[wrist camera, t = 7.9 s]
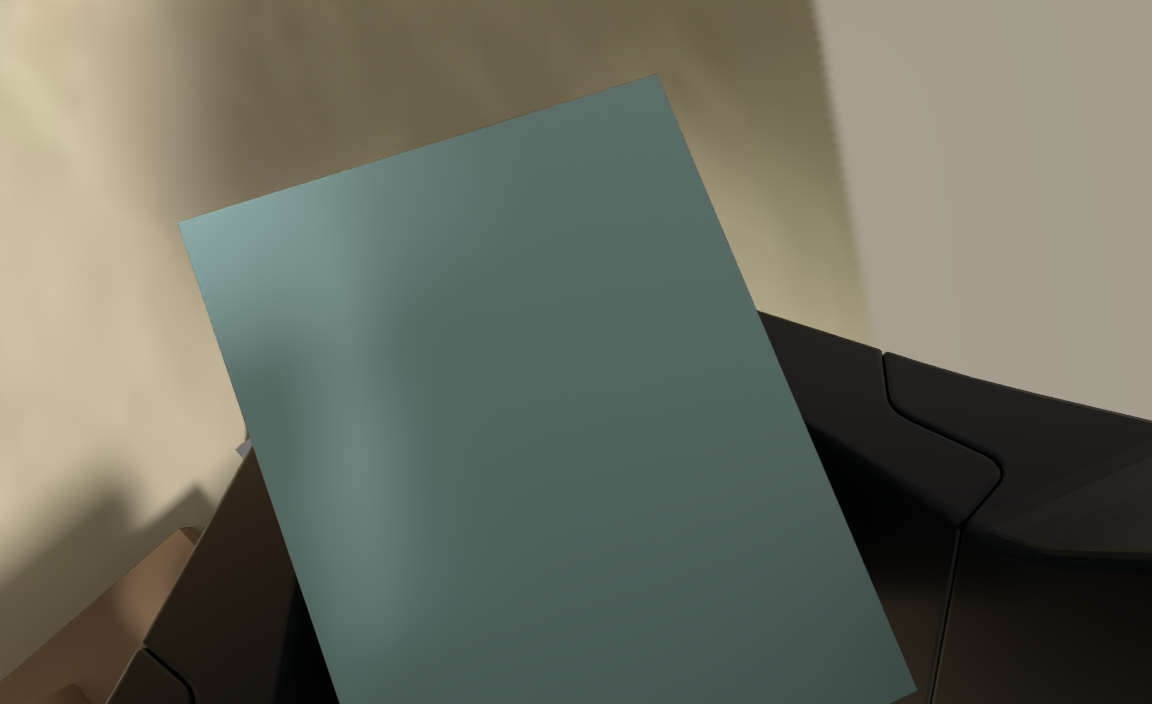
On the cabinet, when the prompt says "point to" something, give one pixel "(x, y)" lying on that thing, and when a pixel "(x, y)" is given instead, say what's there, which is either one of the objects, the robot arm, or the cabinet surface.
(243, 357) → the teal rectangular block
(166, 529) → the cabinet surface
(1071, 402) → the robot arm
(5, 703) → the rack
